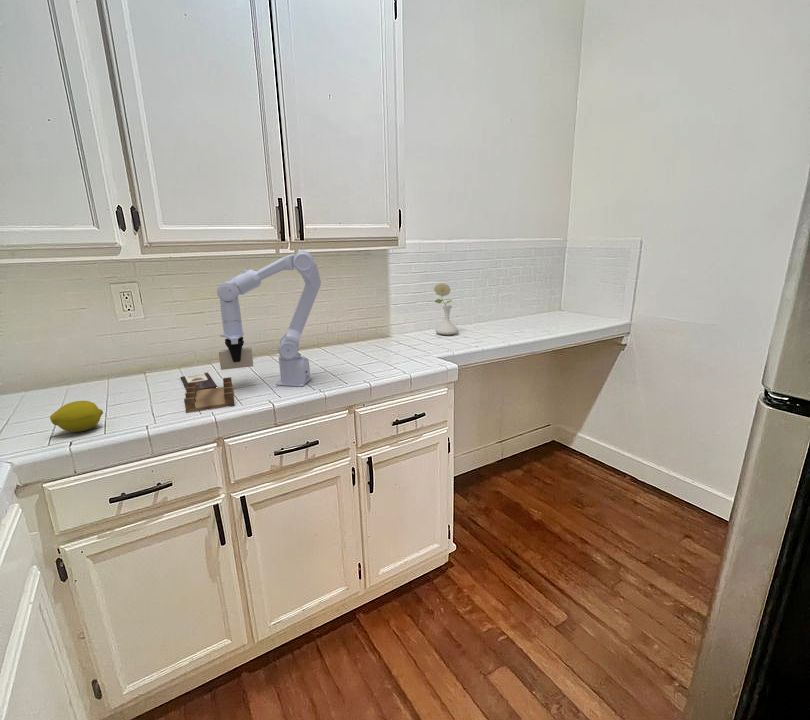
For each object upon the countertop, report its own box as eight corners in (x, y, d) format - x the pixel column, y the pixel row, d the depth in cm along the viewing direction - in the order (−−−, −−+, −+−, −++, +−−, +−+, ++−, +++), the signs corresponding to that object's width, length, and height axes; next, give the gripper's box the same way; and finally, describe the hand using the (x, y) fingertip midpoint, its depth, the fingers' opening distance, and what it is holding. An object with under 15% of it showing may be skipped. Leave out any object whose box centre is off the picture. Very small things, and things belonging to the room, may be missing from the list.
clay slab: (253, 364, 146) (251, 347, 145) (253, 366, 144) (251, 348, 143) (220, 367, 143) (218, 350, 141) (220, 370, 141) (218, 352, 139)
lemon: (108, 421, 120) (101, 393, 118) (103, 432, 113) (97, 403, 111) (59, 428, 115) (52, 400, 113) (51, 441, 109) (43, 411, 106)
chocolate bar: (187, 391, 140) (180, 376, 154) (187, 394, 140) (180, 379, 155) (217, 386, 144) (207, 372, 159) (217, 388, 145) (208, 374, 159)
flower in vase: (462, 332, 218) (463, 282, 211) (452, 337, 208) (453, 284, 201) (438, 330, 224) (439, 281, 217) (428, 334, 215) (428, 283, 208)
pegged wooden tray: (232, 388, 144) (231, 377, 142) (234, 405, 129) (232, 392, 128) (189, 394, 139) (187, 382, 138) (186, 412, 125) (183, 399, 123)
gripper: (218, 316, 144) (223, 356, 148) (218, 325, 131) (223, 368, 135) (241, 315, 147) (245, 354, 150) (242, 323, 134) (247, 365, 138)
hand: (236, 360), depth 143 cm, fingers closed on clay slab, 2 cm apart
